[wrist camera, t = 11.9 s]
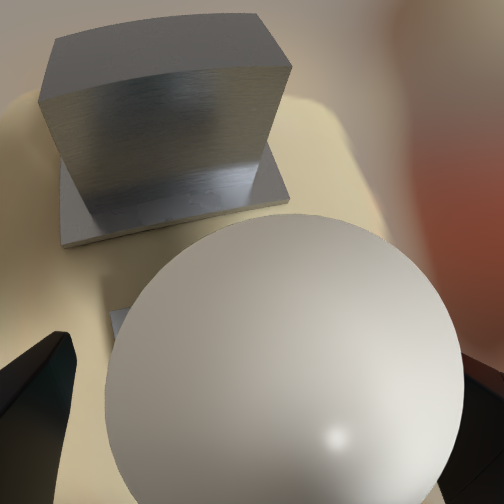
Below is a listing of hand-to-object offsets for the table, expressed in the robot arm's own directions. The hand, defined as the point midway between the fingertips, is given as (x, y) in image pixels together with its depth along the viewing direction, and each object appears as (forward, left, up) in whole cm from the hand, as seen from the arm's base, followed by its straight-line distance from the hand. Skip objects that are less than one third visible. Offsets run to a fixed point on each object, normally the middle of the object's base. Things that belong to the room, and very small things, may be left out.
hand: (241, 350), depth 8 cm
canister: (-1, 0, -8) cm, 8 cm away
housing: (+12, 0, -9) cm, 15 cm away
